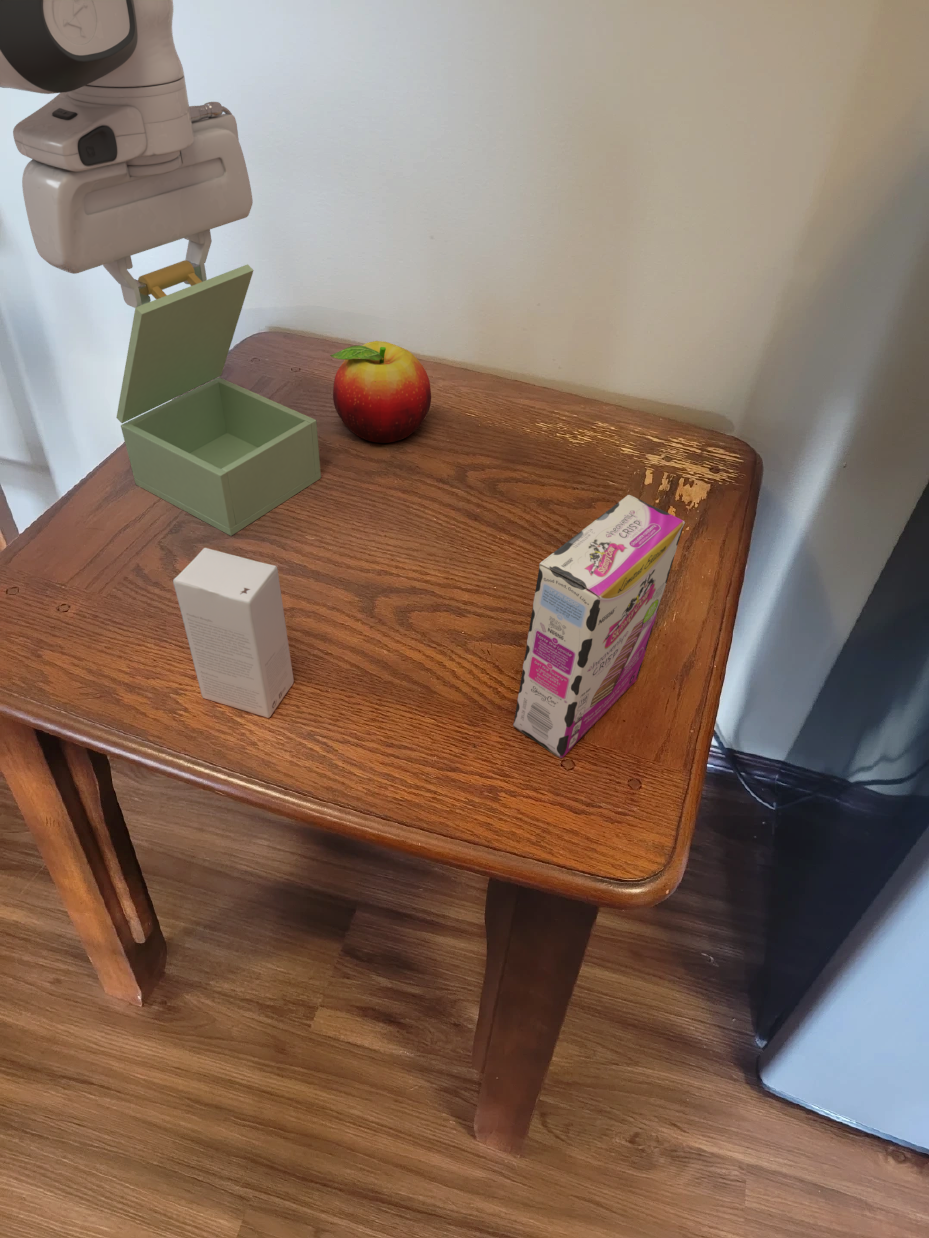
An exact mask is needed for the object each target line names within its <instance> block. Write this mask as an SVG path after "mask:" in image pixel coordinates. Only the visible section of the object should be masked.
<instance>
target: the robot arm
mask: <svg viewBox="0 0 929 1238" xmlns="http://www.w3.org/2000/svg"><path fill="white" fill-rule="evenodd" d="M173 18H174V0H0V88H3V89H12V90H17V91H23V92H29V93H37V94H44V95H55V94H57V95H56V96H54V97H53V98H52V99H51V100H49V101H48V102H47V103H45V104H44V105H43V106H41V107H40V108H39V109H37V110H35V111H34V112H33V113H31V114H30V115H28V116H27V117H24V118H23V119H22V120H20V121H19V122H17V124H16V125H15V126H14V128H13V129H12V136H13V140H14V143H15V146H16V149H17V151H18V152H19V153H20V155H22V156H25V157H27V158H29V159H30V161H29V162H27V163H26V165H25V167H24V169H23V172H22V179H21V186H22V187H21V188H22V194H23V201H24V206H25V211H26V215H27V220H28V224H29V228H30V233H31V236H32V239H33V244H34V247H35V249H36V251H37V253H38V255H39V256H40V257H41V258H42V259H43V260H44V261H45V262H46V263H48V264H49V265H50V266H52V267H54V268H57V269H59V270H61V271H64V272H67V273H69V274H74V275H75V274H76V275H77V274H80V273H83V272H86V271H89V270H91V269H95V268H98V267H100V266H101V267H102V266H103V268H104V269H105V270H106V271H107V272H108V274H109V275H110V276H111V277H112V278H113V279H114V280H115V281H116V283H118V285H120V289H121V294H122V298H123V300H124V302H125V304H126V305H127V306H129V307H132V308H134V309H135V308H136V307H138V306H141V305H143V304H146V303H148V302H151V301H152V300H151V299H152V298H151V296H150V295H148V293H149V291H148V286H147V284H145V283H143V282H139V281H138V279H135V278H134V276H133V275H132V274H131V272H130V271H129V270H130V269H133V267H134V265H133V259H132V256H134V255H137V254H141V253H143V252H147V251H150V250H152V249H156V248H159V247H161V246H165V245H167V244H170V243H174V242H176V241H180V240H182V239H184V240H187V241H188V243H187V249H186V254H185V259H184V260H187V261H189V262H190V263H191V264H192V266H193V268H194V271H195V275H196V276H197V277H198V278H199V279H200V280H201V281H202V282H203V281H206V280H208V279H207V272H206V271H207V270H206V265H205V263H206V262H207V259H208V255H209V252H210V249H211V245H212V235H211V230H213V229H216V228H219V227H222V226H225V225H228V224H231V223H234V222H236V221H237V222H238V221H240V220H242V219H243V220H244V219H246V218H247V217H248V216H249V215H250V213H251V210H252V207H253V202H254V201H253V194H252V187H251V182H250V177H249V173H248V172H249V171H248V168H247V164H246V161H245V156H244V153H243V152H244V151H243V149H242V146H241V143H240V141H239V140H240V139H239V131H238V123H237V120H236V117H235V115H233V113H232V112H231V110H229V109H228V108H227V107H225V106H223V105H222V104H221V102H219V101H208V102H206V103H204V104H201V105H190V104H189V97H188V91H187V85H186V78H185V71H184V67H183V64H182V61H181V59H180V57H179V54H178V52H177V48H176V45H175V41H174V36H173V33H174V32H173V21H174V19H173ZM183 283H184V284H186V285H189V287H190V286H191V284H190V283H189V282H188V281H185V282H183Z"/></svg>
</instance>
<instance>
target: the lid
mask: <svg viewBox="0 0 929 1238" xmlns="http://www.w3.org/2000/svg"><path fill="white" fill-rule="evenodd" d="M254 271H255V270H254V269H253V268H252V267H251V266H250V265H249V264H248V263H247V264H244V265H243V266H240V267H237V268H234V269H232V270H229V271H227V272H223V273H221V274H218V275H216V276H213V277H211V278H208V279H207V280H206V281H203V282H202V281H201V280H200V279H199V278H198V277H197V276H196V275H195V271H194V268H193V266H192V264H191V263H190V262H189V261H187V260H185V259H183V260H181V261H179V262H176V263H173V264H170V265H167V266H165V267H162V268H159V269H156V270H153V271H151V272H148V273H145V274H142V275H140V276H138V278H137V280H138V281H139V282H143V283H145V284H147V286H148V291H149V293H148V295H149V296H150V295H151V296H152V297H153V298H154V300H151V301H150V302H148V303H146V304H143V305H141V306H138V307H136V308H134V314H133V317H132V318H133V319H132V324H131V331H130V336H129V342H128V347H127V353H126V360H125V367H124V371H123V377H122V382H121V389H120V394H119V400H118V405H117V411H116V419H117V420H118V421H119V422H120V423H121V424H124V423H126V422H128V421H130V420H132V419H134V418H136V417H138V416H140V415H143V414H145V413H147V412H149V411H151V410H153V409H155V408H157V407H159V406H161V405H163V404H165V403H167V402H169V401H171V400H174V399H176V398H178V397H180V396H182V395H184V394H186V393H188V392H190V391H192V390H194V389H196V388H198V387H200V386H202V385H205V384H207V383H209V382H211V381H213V380H215V379H217V378H219V377H221V376H222V375H223V370H224V368H225V364H226V362H227V358H228V355H229V351H230V349H231V345H232V342H233V338H234V335H235V332H236V328H237V326H238V323H239V319H240V315H241V312H242V310H243V306H244V303H245V301H246V296H247V293H248V290H249V287H250V284H251V280H252V277H253V274H254ZM185 281H188V282H189V283H190V284H191V286H190V284H189V286H188V287H185V288H182V289H180V290H176V291H174V292H172V293H169V294H166V293H165V292H164V290H165V289H169V288H171V287H174V286H176V285H180V284H181V283H184V282H185Z"/></svg>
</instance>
